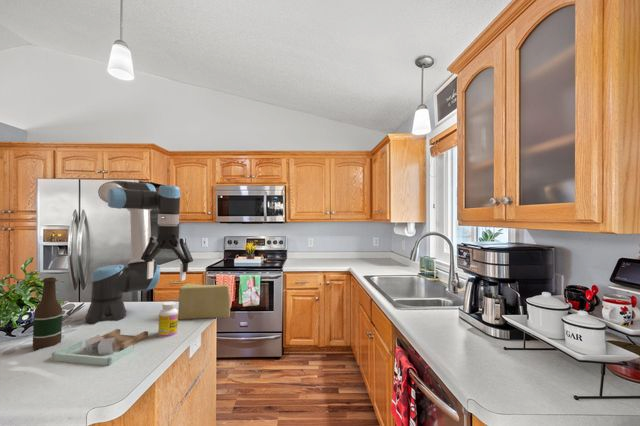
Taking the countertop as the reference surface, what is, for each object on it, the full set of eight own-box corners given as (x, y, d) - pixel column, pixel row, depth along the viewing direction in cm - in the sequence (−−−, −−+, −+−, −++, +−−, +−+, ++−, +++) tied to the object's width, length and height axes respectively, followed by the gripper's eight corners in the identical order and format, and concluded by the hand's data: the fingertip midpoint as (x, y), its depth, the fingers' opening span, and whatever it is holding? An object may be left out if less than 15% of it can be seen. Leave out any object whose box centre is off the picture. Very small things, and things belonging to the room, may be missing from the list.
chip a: (99, 345, 106) (98, 334, 105) (106, 348, 104) (104, 338, 103) (86, 351, 103) (85, 340, 102) (92, 355, 101) (91, 344, 100)
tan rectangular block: (232, 313, 148) (232, 282, 148) (227, 320, 138) (228, 287, 139) (185, 313, 147) (186, 282, 147) (177, 320, 137) (178, 286, 137)
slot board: (116, 336, 117) (116, 329, 117) (147, 339, 115) (148, 331, 115) (89, 350, 105) (89, 341, 105) (123, 353, 103) (124, 344, 103)
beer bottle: (66, 344, 109) (69, 277, 110) (40, 353, 102) (43, 281, 102) (52, 340, 112) (55, 275, 112) (26, 349, 104) (29, 279, 105)
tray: (80, 349, 105) (80, 340, 105) (133, 354, 103) (133, 345, 103) (51, 363, 95) (51, 353, 95) (109, 368, 93) (109, 358, 93)
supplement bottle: (169, 340, 115) (170, 306, 115) (154, 338, 116) (155, 304, 116) (180, 334, 121) (182, 301, 121) (166, 332, 123) (167, 300, 123)
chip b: (102, 350, 103) (101, 339, 103) (116, 348, 105) (115, 337, 104) (98, 357, 99) (97, 345, 99) (113, 354, 101) (112, 343, 100)
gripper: (131, 224, 117) (129, 279, 117) (193, 226, 114) (191, 283, 114) (145, 223, 124) (143, 275, 124) (203, 226, 122) (201, 279, 121)
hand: (166, 279), depth 119 cm, fingers open, 13 cm apart
